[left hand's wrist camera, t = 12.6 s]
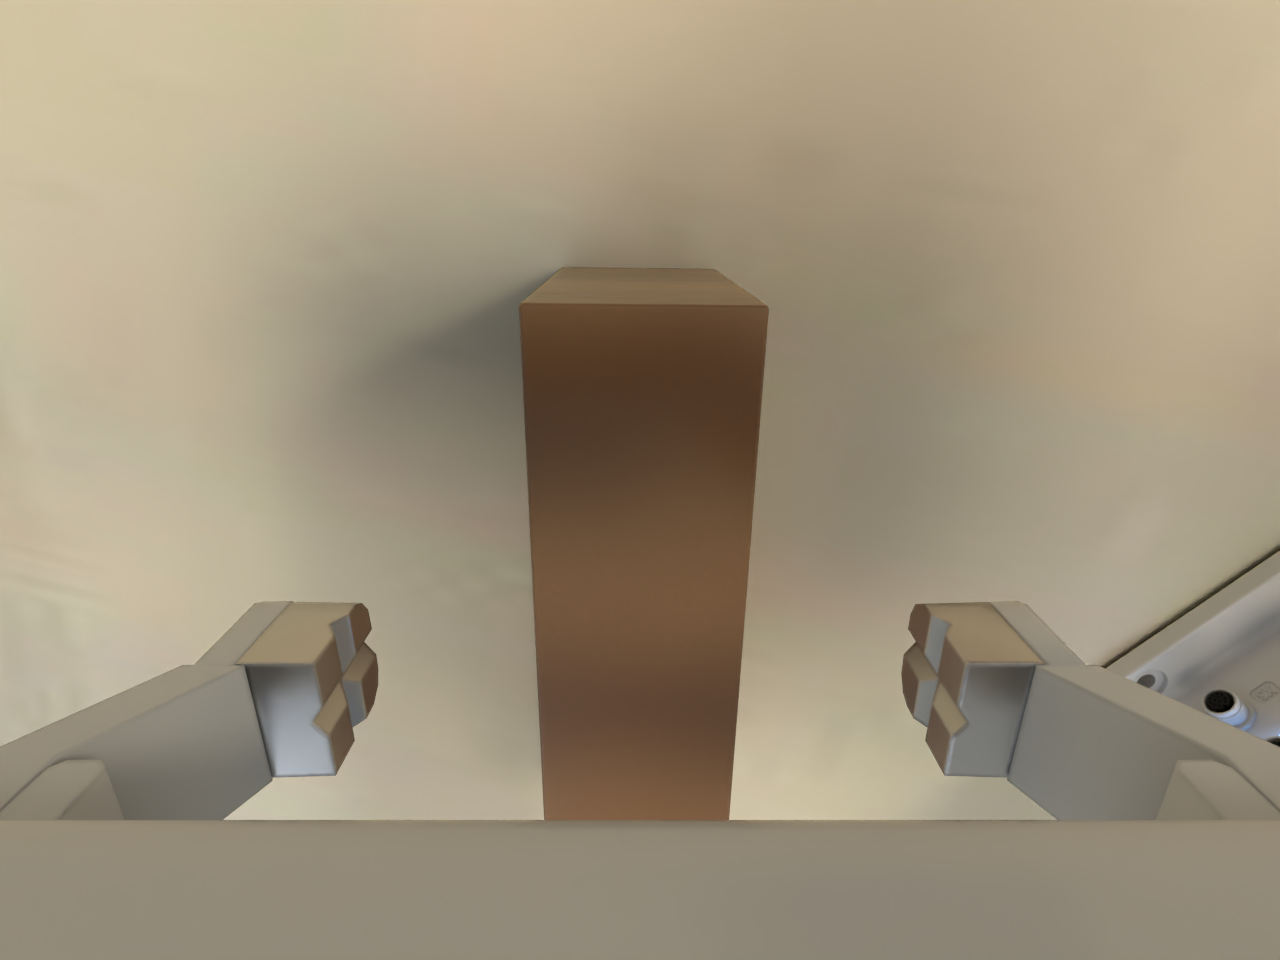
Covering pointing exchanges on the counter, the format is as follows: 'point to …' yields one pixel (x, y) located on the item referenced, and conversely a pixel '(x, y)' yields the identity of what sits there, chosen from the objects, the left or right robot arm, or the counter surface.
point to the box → (640, 533)
